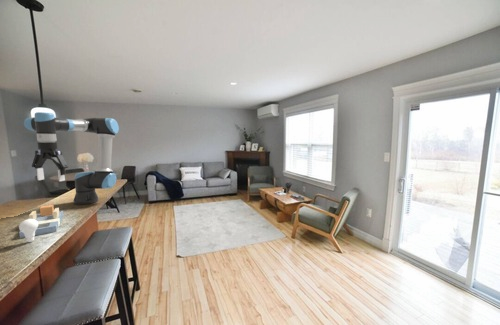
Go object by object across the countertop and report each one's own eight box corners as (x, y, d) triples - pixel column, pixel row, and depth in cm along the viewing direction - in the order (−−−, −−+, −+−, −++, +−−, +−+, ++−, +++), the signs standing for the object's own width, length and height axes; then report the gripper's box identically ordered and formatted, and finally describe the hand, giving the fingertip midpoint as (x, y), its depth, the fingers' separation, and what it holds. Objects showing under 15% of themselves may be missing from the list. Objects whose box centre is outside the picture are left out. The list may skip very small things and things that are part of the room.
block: (42, 214, 123) (41, 206, 122) (54, 212, 126) (53, 204, 125) (40, 216, 119) (40, 208, 118) (52, 214, 122) (51, 206, 121)
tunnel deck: (33, 219, 122) (32, 208, 121) (63, 215, 129) (62, 204, 129) (19, 238, 99) (18, 224, 99) (56, 231, 107) (55, 218, 106)
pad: (27, 228, 110) (26, 223, 110) (60, 223, 118) (59, 217, 117) (24, 232, 106) (23, 226, 105) (58, 226, 113) (58, 221, 113)
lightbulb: (34, 244, 94) (31, 221, 93) (17, 246, 92) (14, 222, 91) (43, 238, 100) (41, 216, 99) (27, 239, 98) (24, 217, 97)
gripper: (19, 141, 109) (24, 180, 112) (59, 142, 105) (63, 182, 108) (35, 141, 116) (40, 178, 119) (74, 142, 113) (77, 179, 116)
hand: (51, 180), depth 114 cm, fingers open, 13 cm apart
